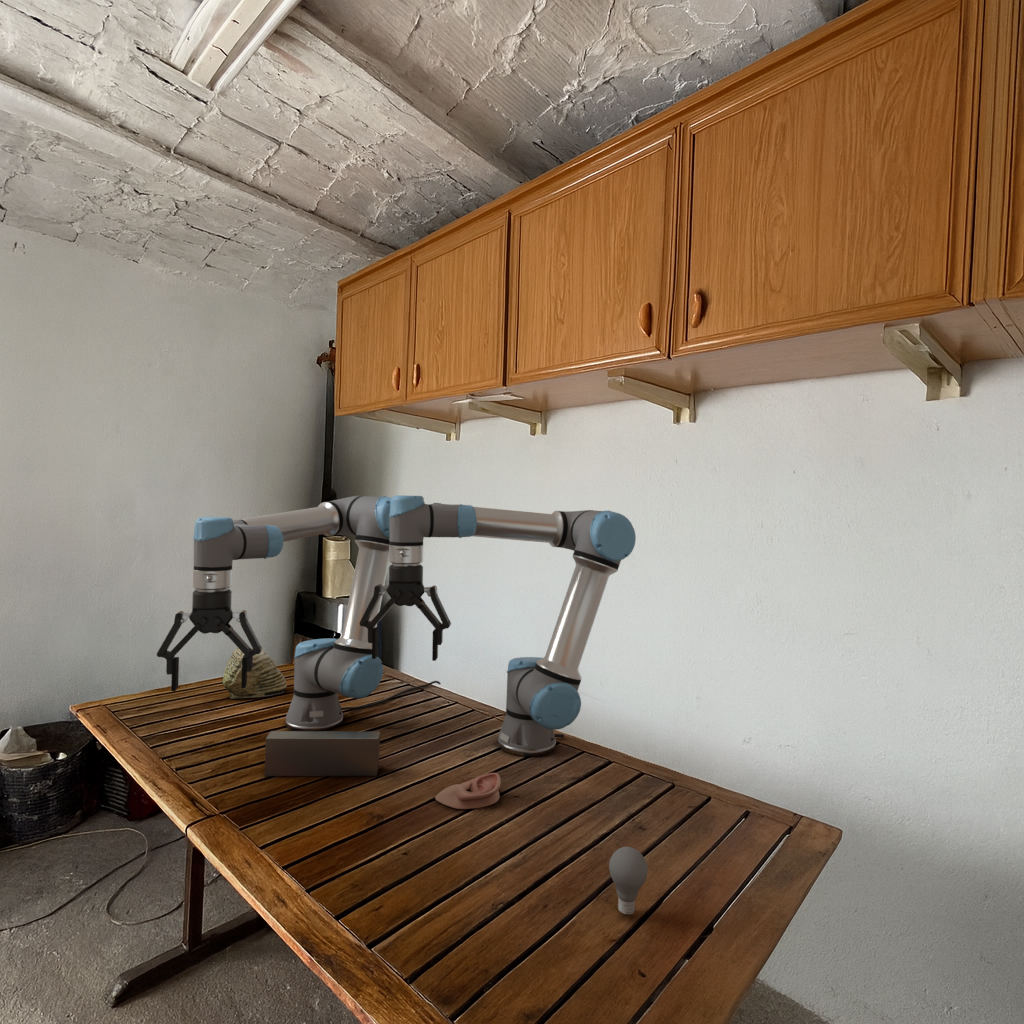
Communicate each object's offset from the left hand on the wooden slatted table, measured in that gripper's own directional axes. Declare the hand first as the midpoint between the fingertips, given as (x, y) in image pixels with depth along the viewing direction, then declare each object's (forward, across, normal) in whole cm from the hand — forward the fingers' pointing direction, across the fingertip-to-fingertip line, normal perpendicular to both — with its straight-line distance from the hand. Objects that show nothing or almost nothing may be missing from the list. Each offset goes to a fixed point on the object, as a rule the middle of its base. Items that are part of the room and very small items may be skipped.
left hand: (209, 687), depth 136 cm
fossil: (+22, +2, +64) cm, 67 cm away
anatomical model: (+22, +54, -16) cm, 60 cm away
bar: (+22, +24, +3) cm, 32 cm away
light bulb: (+22, +71, -58) cm, 94 cm away
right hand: (-6, +41, -4) cm, 42 cm away
